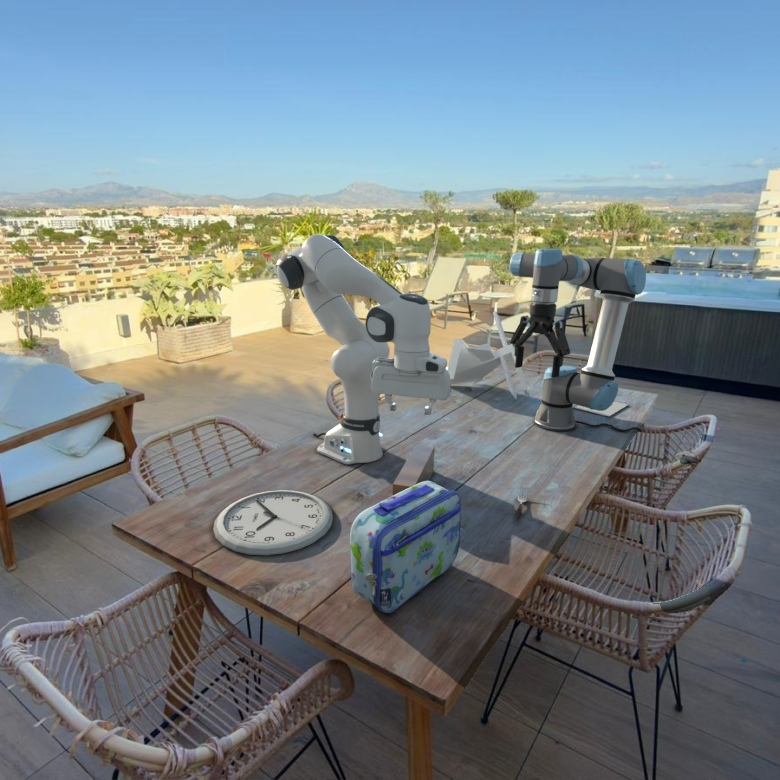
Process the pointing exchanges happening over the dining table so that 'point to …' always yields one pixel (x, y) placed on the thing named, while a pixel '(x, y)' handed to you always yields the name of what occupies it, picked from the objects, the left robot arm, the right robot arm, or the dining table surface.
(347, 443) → the left robot arm
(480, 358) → the white plastic object
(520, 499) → the fork
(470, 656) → the dining table surface
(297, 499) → the wall clock
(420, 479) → the bar
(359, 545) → the lunch box
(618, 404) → the invitation card
